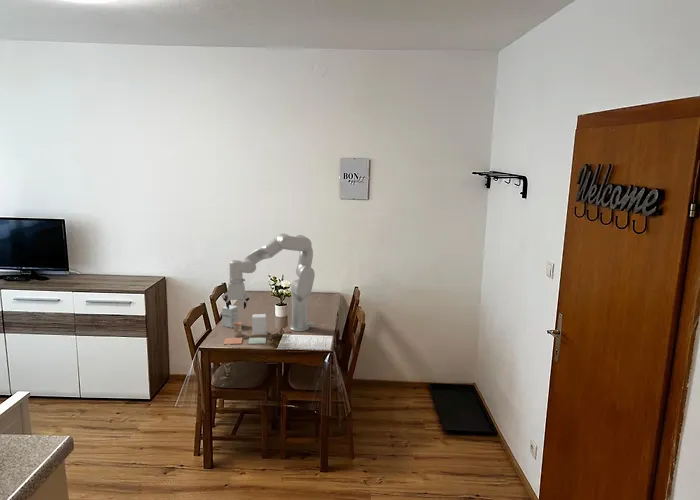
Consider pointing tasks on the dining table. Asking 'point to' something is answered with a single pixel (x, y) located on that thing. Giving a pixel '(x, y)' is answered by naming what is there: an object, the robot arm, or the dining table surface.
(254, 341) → the sage pad
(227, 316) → the supplement box
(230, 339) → the terracotta pad
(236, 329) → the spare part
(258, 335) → the mounted unit
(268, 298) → the dining table surface
